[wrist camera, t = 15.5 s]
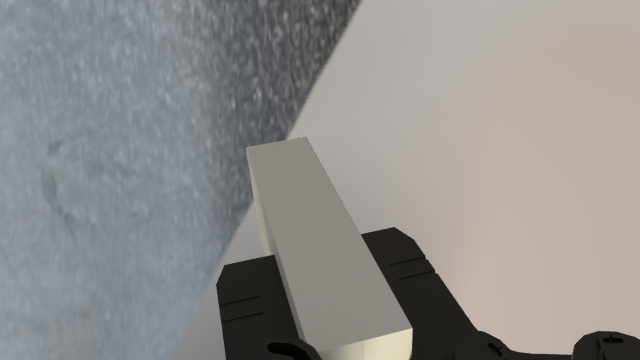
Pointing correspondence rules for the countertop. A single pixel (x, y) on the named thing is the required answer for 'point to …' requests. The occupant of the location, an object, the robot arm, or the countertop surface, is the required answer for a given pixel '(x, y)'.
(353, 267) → the robot arm
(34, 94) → the countertop surface
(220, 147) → the countertop surface
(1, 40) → the countertop surface
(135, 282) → the countertop surface
